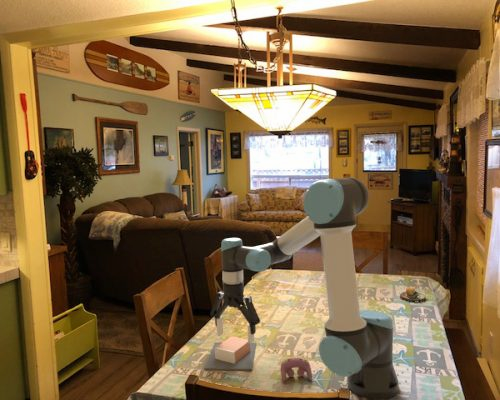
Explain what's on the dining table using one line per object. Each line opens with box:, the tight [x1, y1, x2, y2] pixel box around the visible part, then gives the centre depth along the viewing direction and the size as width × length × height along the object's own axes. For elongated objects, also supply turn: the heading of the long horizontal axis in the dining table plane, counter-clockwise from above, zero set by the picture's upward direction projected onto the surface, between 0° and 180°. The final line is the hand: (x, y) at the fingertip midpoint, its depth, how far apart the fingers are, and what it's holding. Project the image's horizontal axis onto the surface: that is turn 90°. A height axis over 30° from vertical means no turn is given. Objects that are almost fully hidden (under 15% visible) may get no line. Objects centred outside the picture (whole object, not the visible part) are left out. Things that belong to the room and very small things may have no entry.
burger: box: [399, 285, 427, 303], centre depth 206 cm, size 12×12×8 cm
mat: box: [204, 341, 257, 372], centre depth 151 cm, size 20×16×1 cm
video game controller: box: [280, 357, 313, 383], centre depth 135 cm, size 10×5×7 cm, turn 93°
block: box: [215, 335, 250, 364], centre depth 150 cm, size 4×8×11 cm
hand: (235, 338), depth 152 cm, fingers open, 13 cm apart
